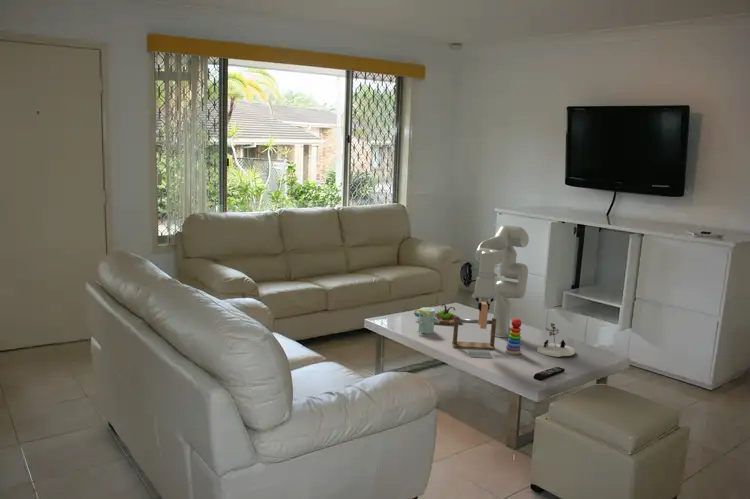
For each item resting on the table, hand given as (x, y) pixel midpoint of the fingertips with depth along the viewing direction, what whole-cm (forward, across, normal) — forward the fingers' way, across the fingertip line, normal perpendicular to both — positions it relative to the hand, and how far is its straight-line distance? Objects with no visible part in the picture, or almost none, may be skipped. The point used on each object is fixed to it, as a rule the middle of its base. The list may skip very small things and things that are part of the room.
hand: (483, 310), depth 326 cm
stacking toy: (+24, -18, -5) cm, 30 cm away
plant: (+24, +13, -60) cm, 66 cm away
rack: (+24, +2, -12) cm, 27 cm away
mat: (+24, 0, 0) cm, 24 cm away
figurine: (+24, -42, -10) cm, 49 cm away
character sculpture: (+24, +27, -34) cm, 50 cm away
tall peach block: (+9, 0, 0) cm, 9 cm away
